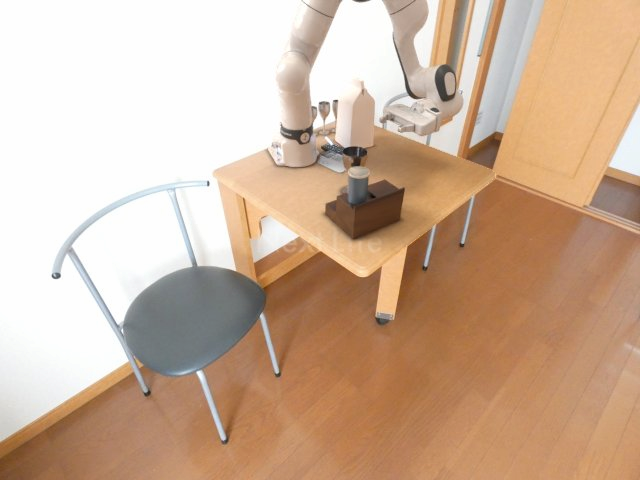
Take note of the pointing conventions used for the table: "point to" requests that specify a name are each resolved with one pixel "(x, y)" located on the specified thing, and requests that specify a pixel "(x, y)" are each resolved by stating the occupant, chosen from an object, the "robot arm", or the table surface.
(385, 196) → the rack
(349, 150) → the wine glass
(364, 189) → the tumbler
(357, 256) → the table surface
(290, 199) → the table surface
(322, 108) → the goblet set
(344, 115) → the milk
